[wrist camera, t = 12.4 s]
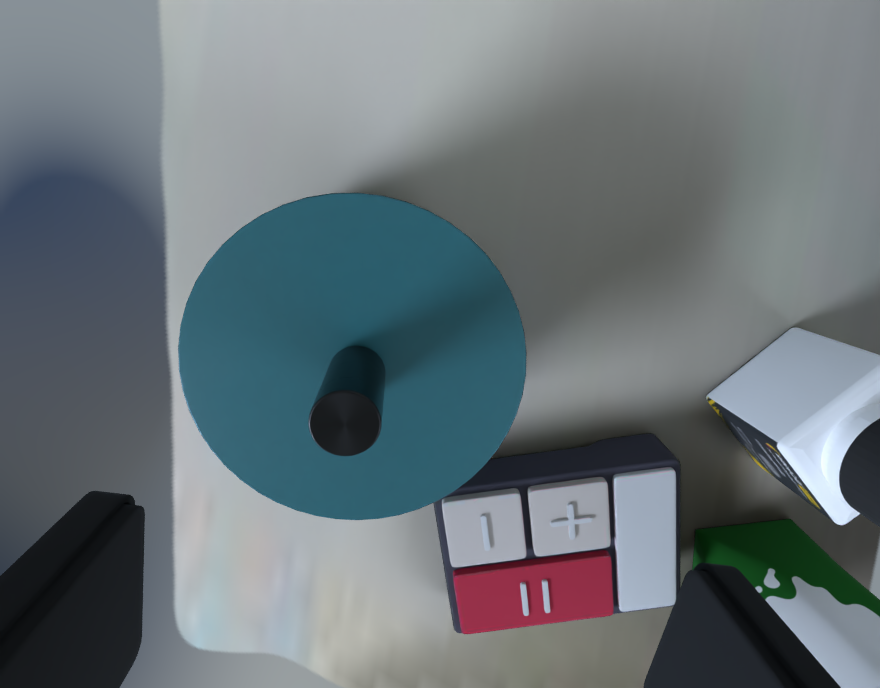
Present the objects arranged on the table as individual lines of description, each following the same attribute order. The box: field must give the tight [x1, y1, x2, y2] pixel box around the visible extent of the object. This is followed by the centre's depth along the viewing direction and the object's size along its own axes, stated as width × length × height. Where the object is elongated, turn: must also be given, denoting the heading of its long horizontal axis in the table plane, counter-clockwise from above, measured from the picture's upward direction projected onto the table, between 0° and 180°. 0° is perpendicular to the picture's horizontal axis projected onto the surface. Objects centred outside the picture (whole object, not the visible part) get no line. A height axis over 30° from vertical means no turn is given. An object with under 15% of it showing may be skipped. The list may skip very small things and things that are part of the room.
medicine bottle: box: [706, 328, 880, 527], centre depth 28 cm, size 7×7×12 cm
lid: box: [178, 193, 526, 520], centre depth 20 cm, size 15×15×6 cm
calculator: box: [434, 434, 680, 634], centre depth 33 cm, size 11×4×15 cm
